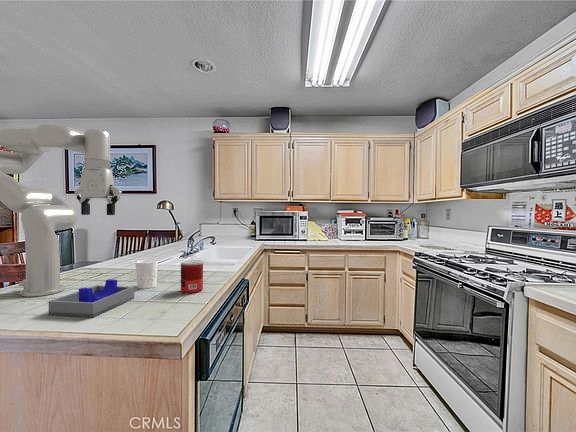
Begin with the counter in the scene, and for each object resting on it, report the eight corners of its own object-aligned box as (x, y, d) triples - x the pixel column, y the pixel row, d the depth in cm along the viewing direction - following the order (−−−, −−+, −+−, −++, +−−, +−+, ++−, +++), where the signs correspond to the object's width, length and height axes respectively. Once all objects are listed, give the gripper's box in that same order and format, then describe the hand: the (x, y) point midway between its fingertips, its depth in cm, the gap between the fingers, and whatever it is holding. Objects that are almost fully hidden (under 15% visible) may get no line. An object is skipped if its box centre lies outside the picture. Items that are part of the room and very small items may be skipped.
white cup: (162, 285, 117) (162, 260, 117) (143, 290, 111) (143, 263, 111) (150, 283, 122) (150, 258, 121) (131, 287, 115) (131, 261, 115)
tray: (48, 315, 85) (48, 301, 85) (96, 296, 102) (96, 285, 102) (93, 317, 83) (93, 303, 83) (134, 298, 101) (134, 286, 101)
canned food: (207, 289, 113) (207, 260, 112) (192, 295, 105) (192, 264, 105) (191, 287, 116) (191, 259, 116) (176, 292, 109) (176, 262, 108)
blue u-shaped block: (105, 296, 99) (104, 279, 99) (117, 297, 98) (117, 279, 98) (74, 308, 87) (74, 288, 87) (87, 309, 87) (87, 289, 86)
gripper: (66, 164, 101) (66, 214, 101) (112, 164, 99) (113, 215, 99) (84, 167, 108) (84, 214, 109) (127, 167, 106) (128, 215, 106)
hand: (98, 214), depth 104 cm, fingers open, 9 cm apart
